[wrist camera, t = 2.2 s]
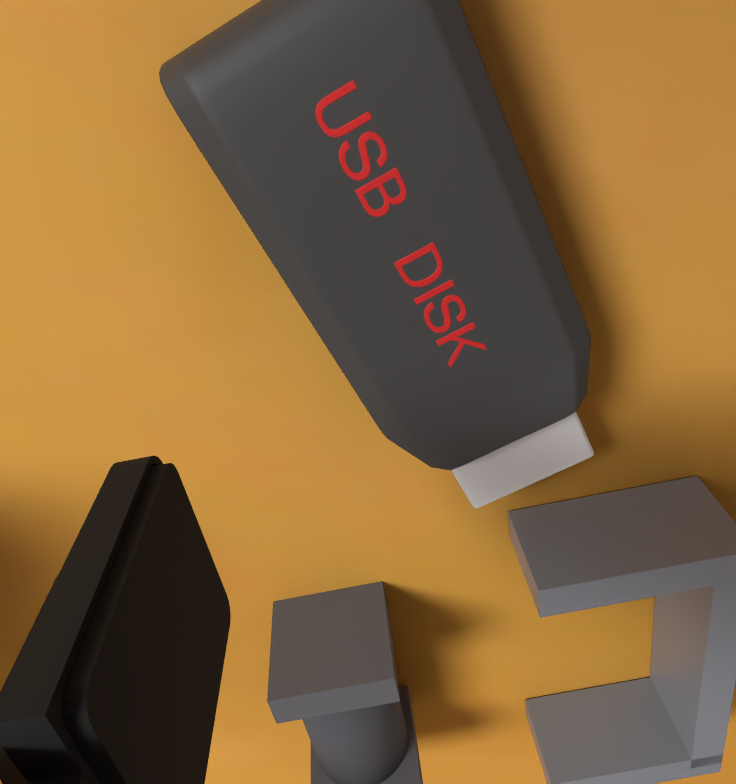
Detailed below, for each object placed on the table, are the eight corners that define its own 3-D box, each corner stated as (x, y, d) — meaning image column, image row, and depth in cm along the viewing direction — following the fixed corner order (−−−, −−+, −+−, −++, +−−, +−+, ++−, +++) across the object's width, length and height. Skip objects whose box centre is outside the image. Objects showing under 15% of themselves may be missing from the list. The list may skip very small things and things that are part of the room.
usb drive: (404, -90, 12) (427, -112, 10) (601, 395, 18) (646, 455, 16) (167, 61, 13) (137, 75, 11) (427, 476, 19) (445, 545, 16)
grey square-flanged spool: (273, 600, 20) (267, 701, 18) (382, 580, 20) (394, 678, 17) (316, 719, 24) (317, 821, 21) (411, 702, 24) (425, 802, 21)
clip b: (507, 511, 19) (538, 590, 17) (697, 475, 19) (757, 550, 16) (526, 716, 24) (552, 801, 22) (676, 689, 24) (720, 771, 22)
